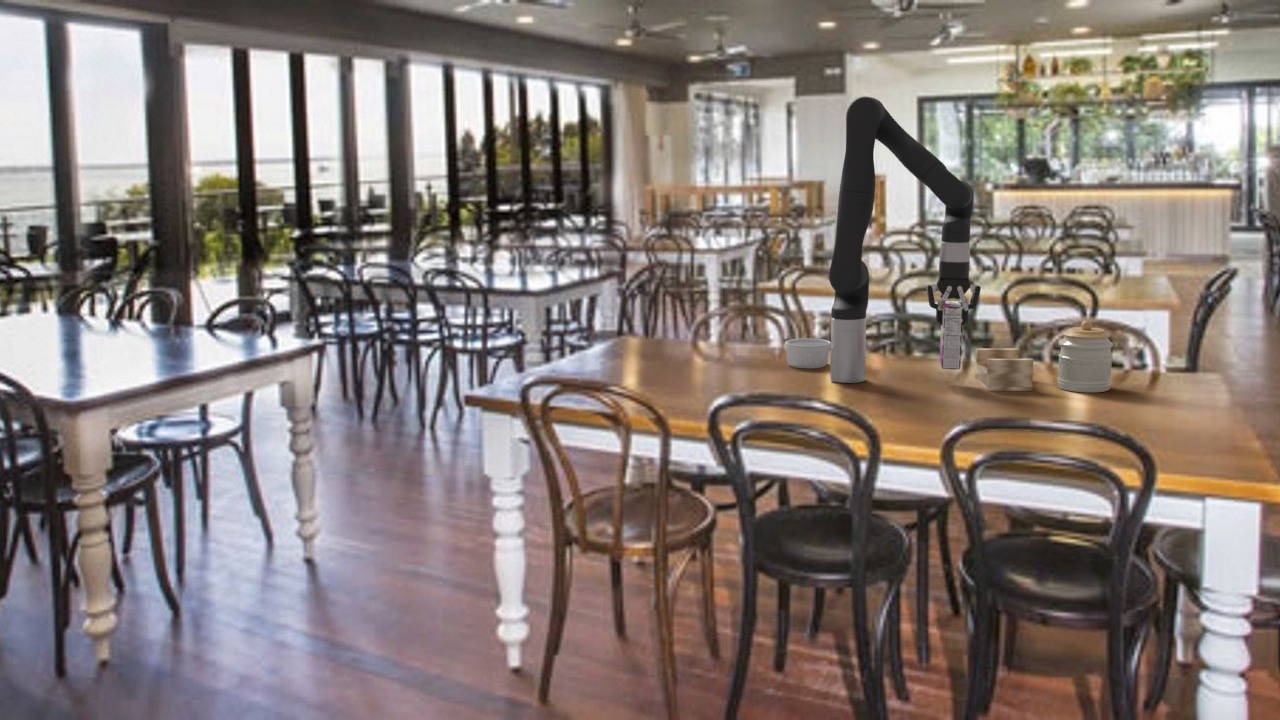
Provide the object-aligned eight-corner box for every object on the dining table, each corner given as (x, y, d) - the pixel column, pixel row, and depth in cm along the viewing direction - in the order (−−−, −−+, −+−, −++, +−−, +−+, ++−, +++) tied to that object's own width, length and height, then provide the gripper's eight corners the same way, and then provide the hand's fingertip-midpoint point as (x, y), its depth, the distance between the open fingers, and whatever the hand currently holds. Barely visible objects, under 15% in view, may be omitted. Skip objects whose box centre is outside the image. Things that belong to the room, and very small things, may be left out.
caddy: (988, 390, 294) (989, 360, 293) (974, 377, 312) (975, 348, 310) (1032, 390, 293) (1033, 360, 292) (1016, 377, 311) (1017, 348, 309)
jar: (1070, 381, 304) (1073, 315, 301) (1119, 387, 295) (1123, 319, 292) (1048, 389, 295) (1050, 321, 292) (1097, 395, 286) (1101, 325, 283)
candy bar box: (938, 361, 306) (941, 300, 303) (957, 362, 305) (961, 301, 302) (940, 369, 295) (944, 306, 292) (960, 370, 294) (964, 306, 291)
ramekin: (833, 369, 329) (834, 345, 327) (787, 369, 329) (788, 346, 328) (827, 361, 342) (827, 338, 340) (782, 361, 342) (782, 338, 341)
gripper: (928, 260, 292) (925, 326, 295) (986, 261, 291) (982, 327, 294) (924, 257, 299) (921, 322, 302) (980, 258, 298) (976, 322, 301)
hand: (951, 324), depth 298 cm, fingers closed on candy bar box, 5 cm apart
